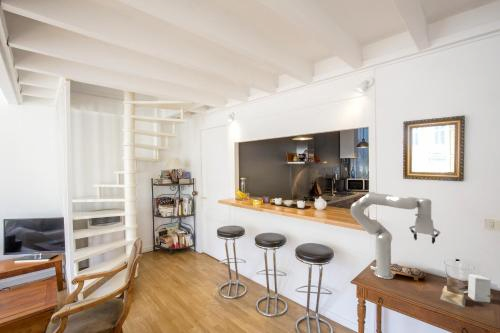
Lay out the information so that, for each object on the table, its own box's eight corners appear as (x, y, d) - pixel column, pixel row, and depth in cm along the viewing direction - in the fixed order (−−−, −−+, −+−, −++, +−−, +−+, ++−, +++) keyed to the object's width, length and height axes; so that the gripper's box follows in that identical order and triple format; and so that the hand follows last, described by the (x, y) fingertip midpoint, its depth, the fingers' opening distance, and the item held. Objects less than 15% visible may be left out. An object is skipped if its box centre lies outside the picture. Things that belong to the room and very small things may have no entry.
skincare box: (474, 302, 140) (475, 278, 140) (467, 297, 146) (467, 273, 146) (491, 304, 138) (491, 279, 138) (482, 298, 144) (483, 274, 144)
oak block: (442, 299, 142) (442, 290, 142) (444, 293, 148) (444, 285, 148) (462, 305, 135) (462, 296, 135) (463, 299, 142) (463, 291, 142)
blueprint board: (430, 298, 144) (430, 296, 144) (434, 290, 154) (434, 288, 154) (475, 313, 130) (475, 311, 130) (476, 303, 139) (476, 301, 139)
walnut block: (446, 290, 142) (446, 279, 142) (448, 287, 145) (448, 276, 145) (457, 294, 138) (457, 282, 138) (458, 291, 142) (458, 279, 142)
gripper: (408, 215, 164) (407, 239, 164) (439, 219, 151) (439, 246, 151) (410, 214, 169) (410, 237, 169) (441, 217, 156) (441, 243, 156)
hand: (424, 241), depth 160 cm, fingers open, 9 cm apart
